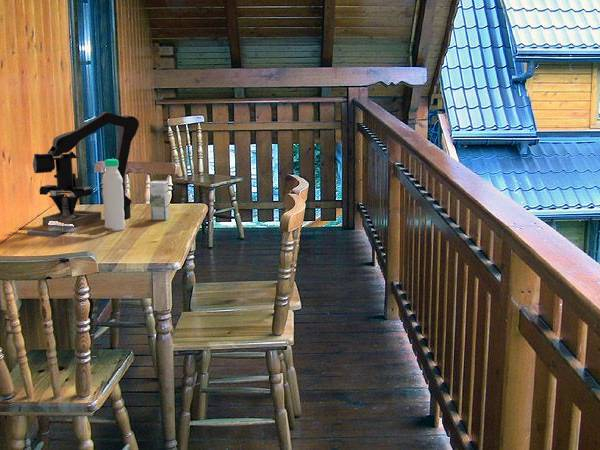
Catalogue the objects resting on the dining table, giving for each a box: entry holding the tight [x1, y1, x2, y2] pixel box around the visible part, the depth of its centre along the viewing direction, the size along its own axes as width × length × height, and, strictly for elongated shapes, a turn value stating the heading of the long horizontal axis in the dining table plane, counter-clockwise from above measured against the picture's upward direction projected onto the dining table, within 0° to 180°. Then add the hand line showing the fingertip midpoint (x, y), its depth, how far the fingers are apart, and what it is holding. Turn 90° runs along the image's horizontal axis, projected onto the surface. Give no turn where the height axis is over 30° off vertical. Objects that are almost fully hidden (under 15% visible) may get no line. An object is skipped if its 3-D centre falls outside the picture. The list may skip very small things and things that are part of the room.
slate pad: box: [26, 229, 68, 237], centre depth 290 cm, size 12×8×1 cm
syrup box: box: [149, 180, 170, 221], centre depth 312 cm, size 6×6×14 cm
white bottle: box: [101, 158, 126, 232], centre depth 293 cm, size 7×7×25 cm
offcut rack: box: [41, 209, 102, 228], centre depth 303 cm, size 14×16×4 cm
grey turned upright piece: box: [59, 193, 76, 219], centre depth 299 cm, size 6×6×12 cm
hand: (67, 214), depth 300 cm, fingers closed on grey turned upright piece, 3 cm apart
